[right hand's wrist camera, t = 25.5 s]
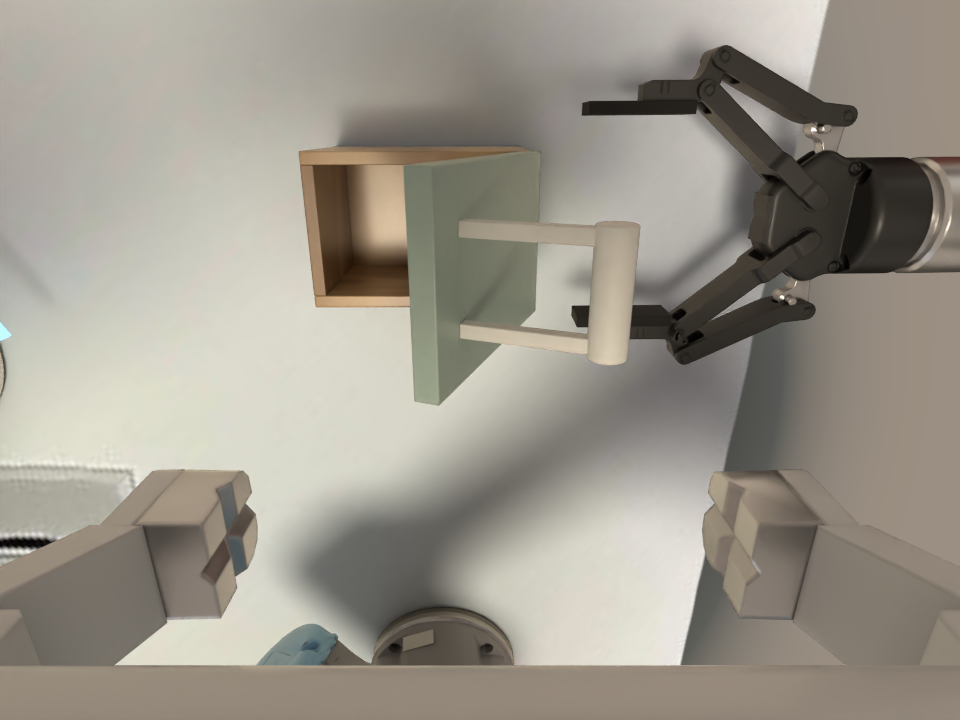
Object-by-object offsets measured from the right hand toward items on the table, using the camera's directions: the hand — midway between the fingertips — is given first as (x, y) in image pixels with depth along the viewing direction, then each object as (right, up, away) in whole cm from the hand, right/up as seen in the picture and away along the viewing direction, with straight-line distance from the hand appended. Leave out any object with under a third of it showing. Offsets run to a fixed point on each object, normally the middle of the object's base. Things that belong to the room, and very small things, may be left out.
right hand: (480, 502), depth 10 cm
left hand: (+7, +12, +29) cm, 32 cm away
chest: (-4, +14, +36) cm, 39 cm away
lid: (0, +8, +20) cm, 21 cm away
